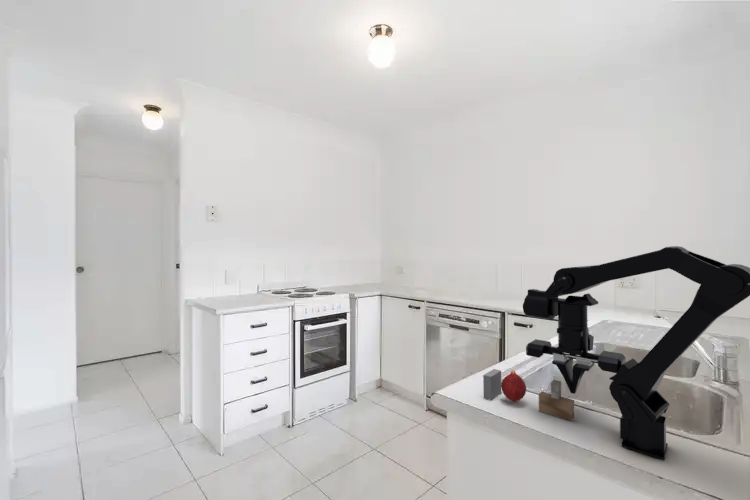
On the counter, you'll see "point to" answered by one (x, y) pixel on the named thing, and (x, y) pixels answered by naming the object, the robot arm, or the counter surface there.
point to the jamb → (492, 384)
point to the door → (556, 402)
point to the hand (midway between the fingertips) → (573, 392)
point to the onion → (513, 387)
